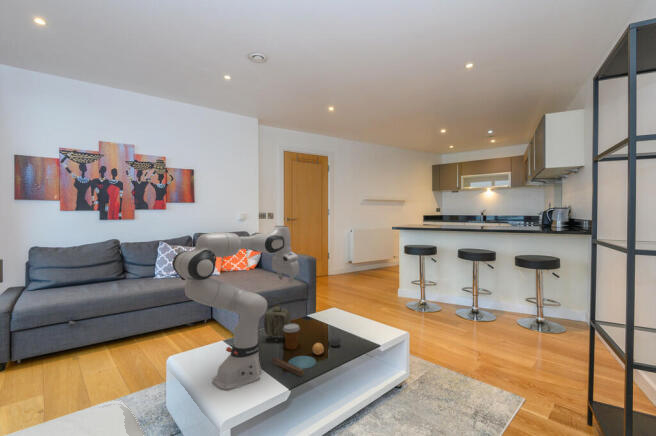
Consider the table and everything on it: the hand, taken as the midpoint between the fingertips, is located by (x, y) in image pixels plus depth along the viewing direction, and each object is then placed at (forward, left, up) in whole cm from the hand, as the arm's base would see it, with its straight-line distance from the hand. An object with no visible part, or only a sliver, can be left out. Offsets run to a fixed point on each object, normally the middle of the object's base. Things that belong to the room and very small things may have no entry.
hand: (286, 280), depth 167 cm
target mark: (0, -12, -40) cm, 42 cm away
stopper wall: (-10, -12, -40) cm, 43 cm away
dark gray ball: (+26, -12, -37) cm, 47 cm away
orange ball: (+12, -12, -37) cm, 41 cm away
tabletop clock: (+10, +20, -40) cm, 46 cm away
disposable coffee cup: (+9, +6, -40) cm, 42 cm away
